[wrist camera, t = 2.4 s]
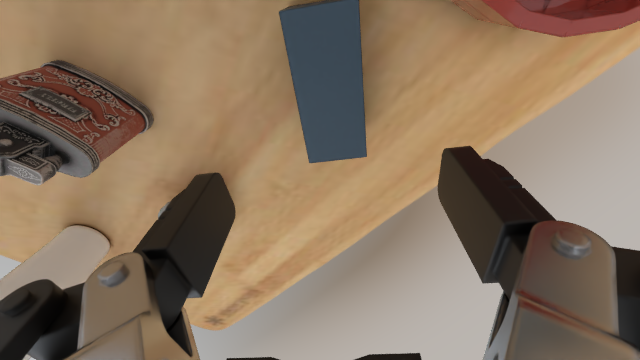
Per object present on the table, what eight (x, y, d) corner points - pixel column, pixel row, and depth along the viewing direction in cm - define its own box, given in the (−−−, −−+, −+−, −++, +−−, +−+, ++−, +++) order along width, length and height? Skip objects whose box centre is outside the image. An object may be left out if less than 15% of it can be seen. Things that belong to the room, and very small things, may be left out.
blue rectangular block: (288, 6, 18) (278, 11, 15) (352, -5, 18) (358, -4, 14) (312, 137, 24) (309, 163, 20) (361, 131, 23) (366, 157, 20)
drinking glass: (70, 209, 30) (-106, 359, 18) (128, 240, 33) (10, 387, 21) (50, 235, 33) (-114, 380, 21) (105, 262, 36) (-10, 403, 24)
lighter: (157, 108, 23) (62, 175, 15) (148, 137, 24) (57, 211, 16) (50, 49, 20) (-138, 90, 12) (47, 86, 22) (-119, 143, 14)
